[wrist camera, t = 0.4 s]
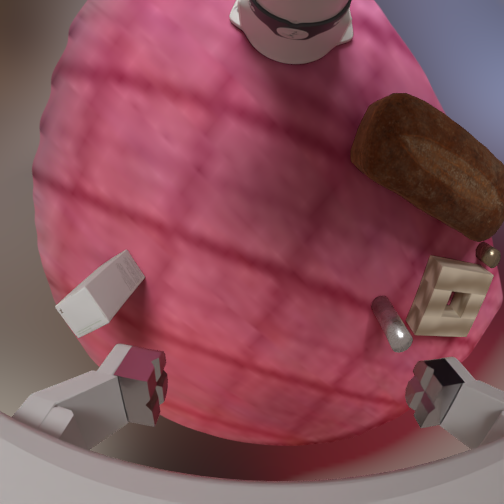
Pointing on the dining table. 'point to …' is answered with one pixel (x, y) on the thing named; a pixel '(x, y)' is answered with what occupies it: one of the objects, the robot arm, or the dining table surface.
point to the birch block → (438, 292)
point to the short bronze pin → (488, 254)
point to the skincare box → (101, 294)
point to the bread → (431, 164)
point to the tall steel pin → (391, 324)
